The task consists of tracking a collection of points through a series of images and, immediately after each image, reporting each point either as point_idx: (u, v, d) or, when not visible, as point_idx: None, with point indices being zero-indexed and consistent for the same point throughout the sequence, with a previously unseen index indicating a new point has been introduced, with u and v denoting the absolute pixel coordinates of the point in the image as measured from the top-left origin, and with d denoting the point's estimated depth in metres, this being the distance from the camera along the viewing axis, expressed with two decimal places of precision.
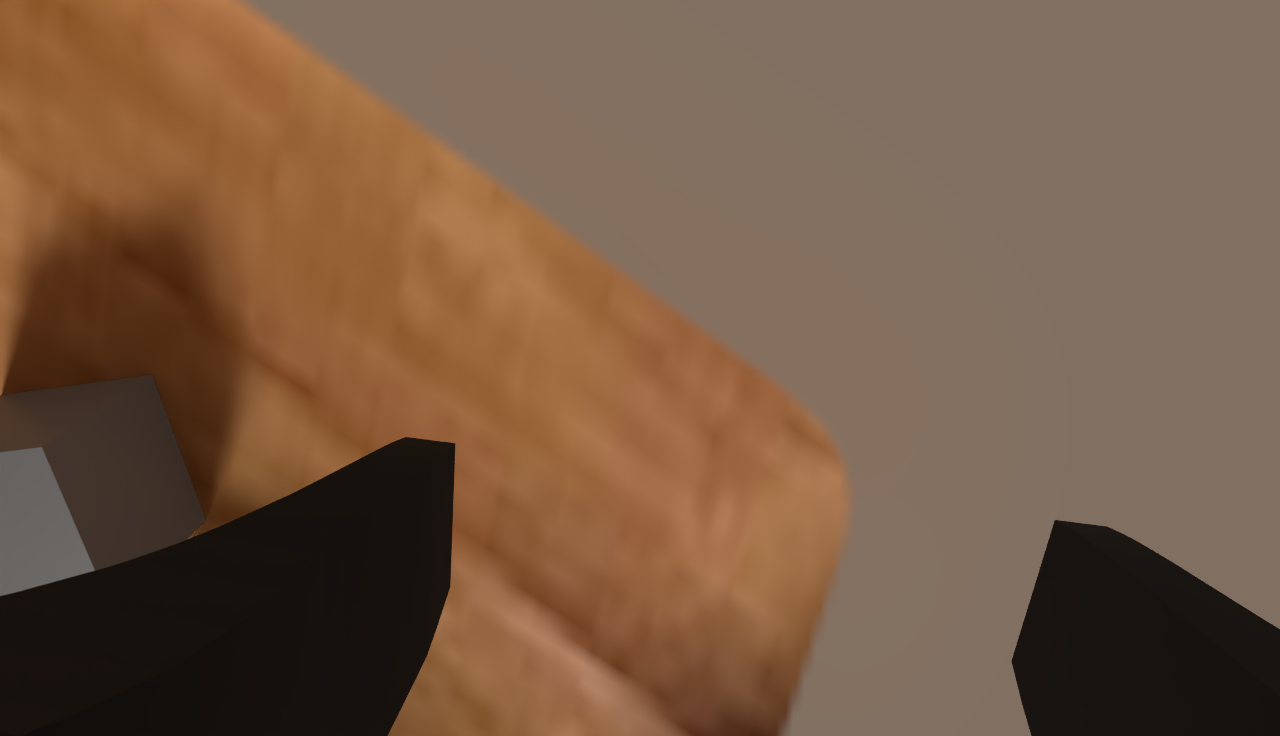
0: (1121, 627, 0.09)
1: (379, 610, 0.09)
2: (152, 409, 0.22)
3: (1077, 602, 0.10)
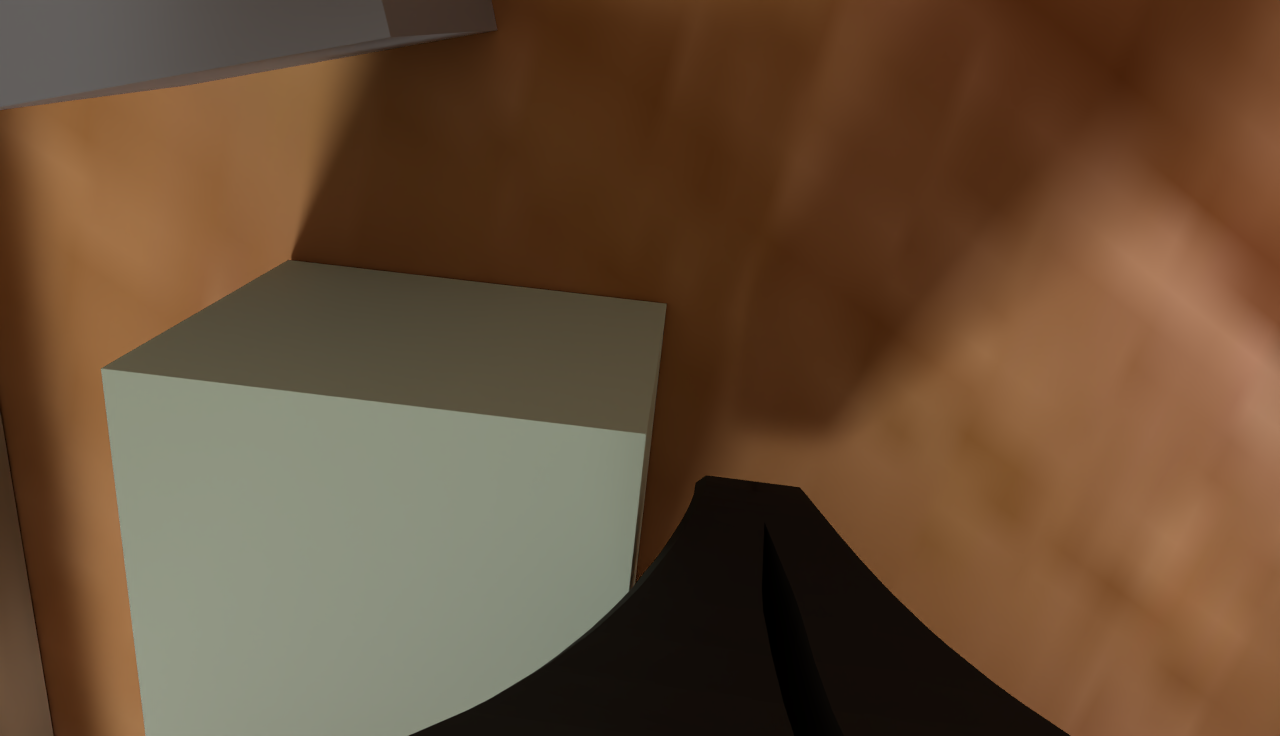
0: None
1: None
2: None
3: None
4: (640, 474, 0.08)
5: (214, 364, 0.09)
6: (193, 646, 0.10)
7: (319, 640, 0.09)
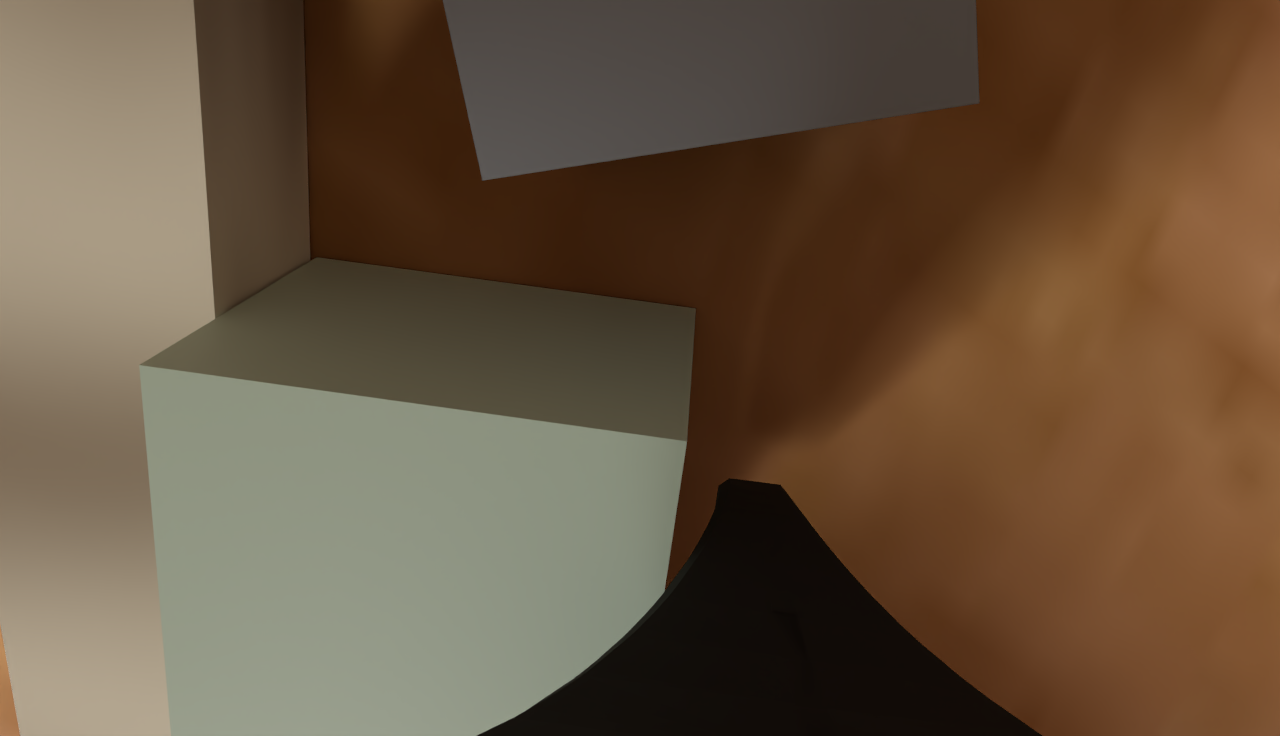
0: None
1: None
2: None
3: None
4: (679, 481, 0.08)
5: (251, 363, 0.09)
6: (222, 644, 0.09)
7: (349, 641, 0.09)
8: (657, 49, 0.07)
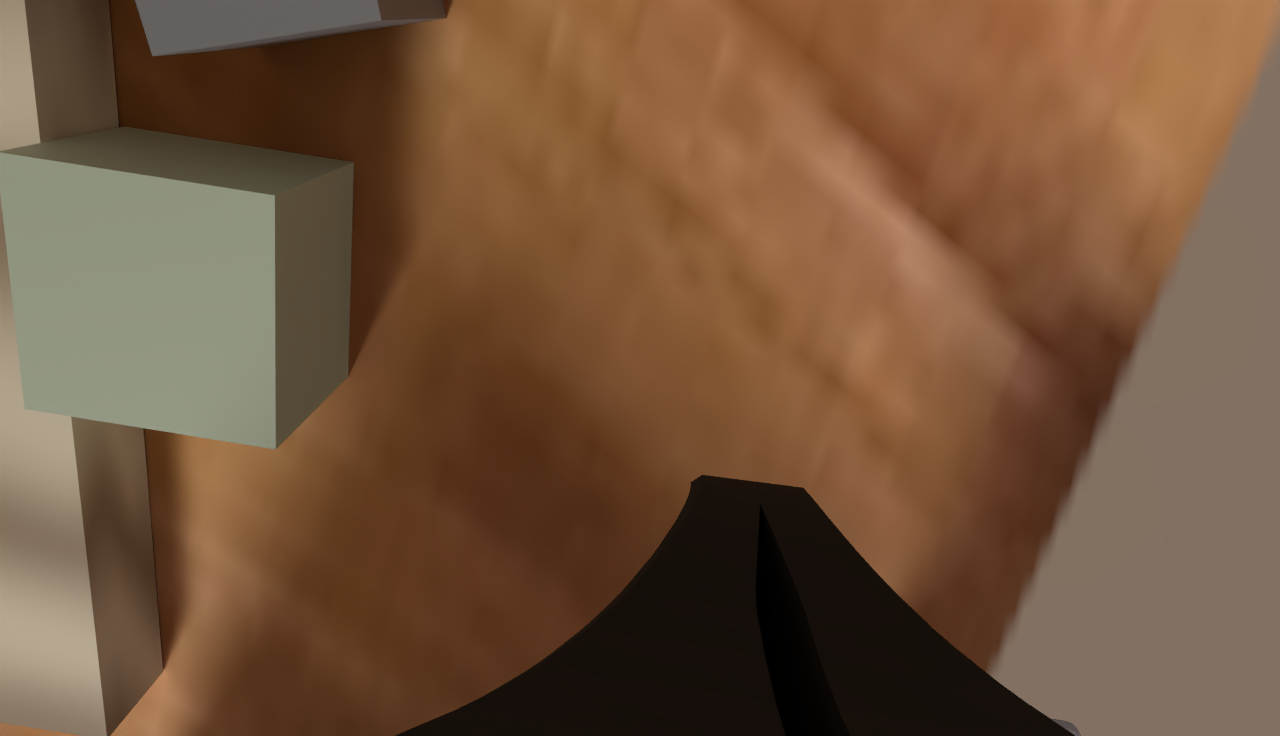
0: (764, 580, 0.09)
1: None
2: None
3: None
4: (273, 217, 0.16)
5: (57, 156, 0.17)
6: (46, 317, 0.17)
7: (114, 314, 0.17)
8: None
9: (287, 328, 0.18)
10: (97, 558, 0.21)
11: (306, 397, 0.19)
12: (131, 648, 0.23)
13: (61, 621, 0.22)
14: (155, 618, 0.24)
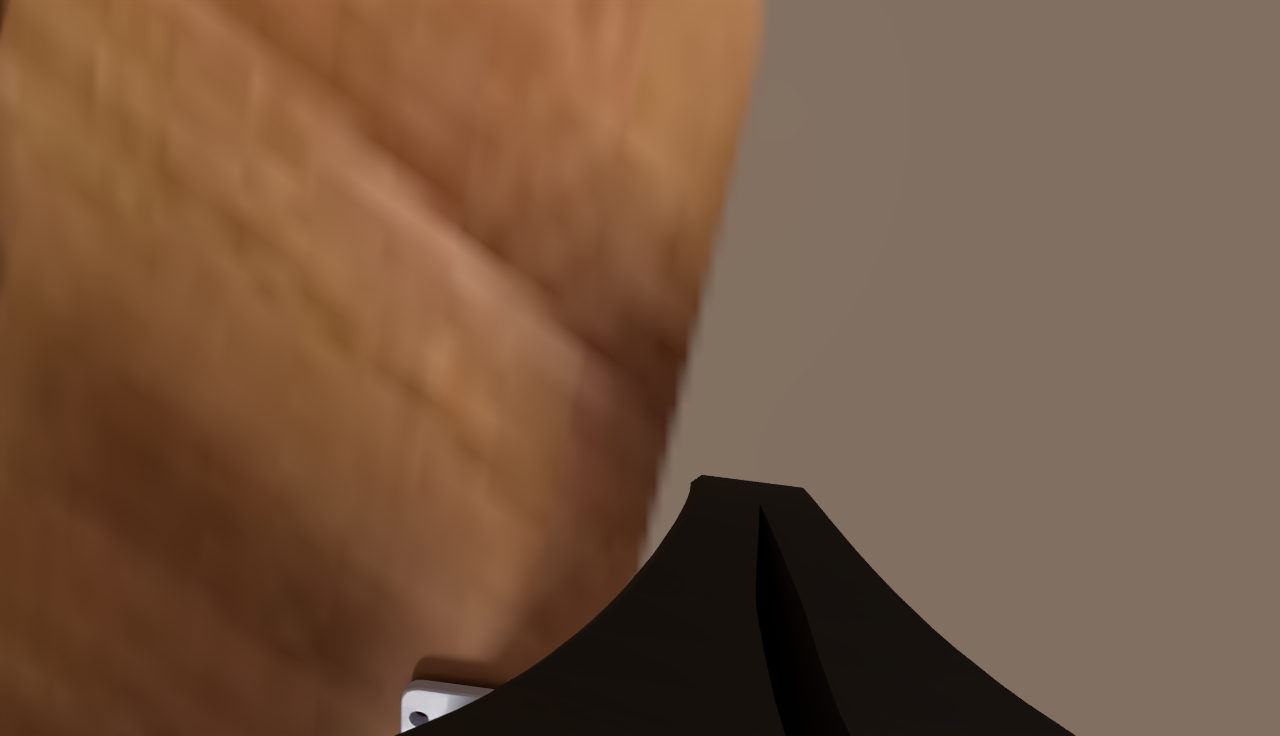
0: (763, 580, 0.09)
1: None
2: None
3: None
4: None
5: None
6: None
7: None
8: None
9: None
10: None
11: None
12: None
13: None
14: None
